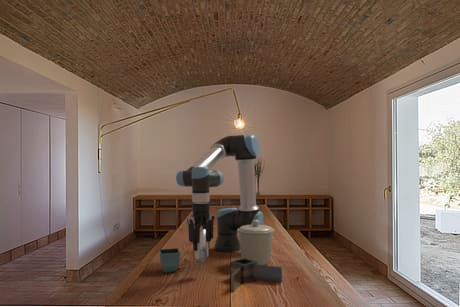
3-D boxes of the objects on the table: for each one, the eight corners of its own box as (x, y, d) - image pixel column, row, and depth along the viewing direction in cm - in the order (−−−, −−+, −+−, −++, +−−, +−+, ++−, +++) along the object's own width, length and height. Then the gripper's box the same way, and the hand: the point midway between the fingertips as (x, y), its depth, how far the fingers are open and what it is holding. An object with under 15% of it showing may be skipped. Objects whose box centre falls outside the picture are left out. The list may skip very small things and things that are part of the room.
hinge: (251, 272, 155) (251, 256, 155) (283, 281, 142) (282, 264, 142) (212, 283, 140) (212, 266, 140) (243, 295, 127) (243, 276, 127)
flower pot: (160, 274, 153) (160, 253, 153) (159, 268, 161) (159, 249, 161) (180, 272, 155) (180, 252, 155) (178, 267, 163) (178, 248, 164)
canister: (277, 259, 175) (276, 217, 176) (271, 270, 158) (271, 223, 159) (242, 257, 180) (242, 216, 181) (233, 267, 163) (232, 222, 163)
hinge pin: (202, 260, 152) (202, 228, 153) (208, 262, 149) (207, 229, 150) (195, 262, 150) (194, 229, 150) (200, 264, 147) (200, 230, 147)
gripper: (210, 200, 159) (211, 251, 158) (179, 203, 147) (180, 259, 147) (221, 201, 153) (222, 254, 152) (189, 205, 142) (190, 263, 141)
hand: (201, 257), depth 150 cm, fingers closed on hinge pin, 4 cm apart
